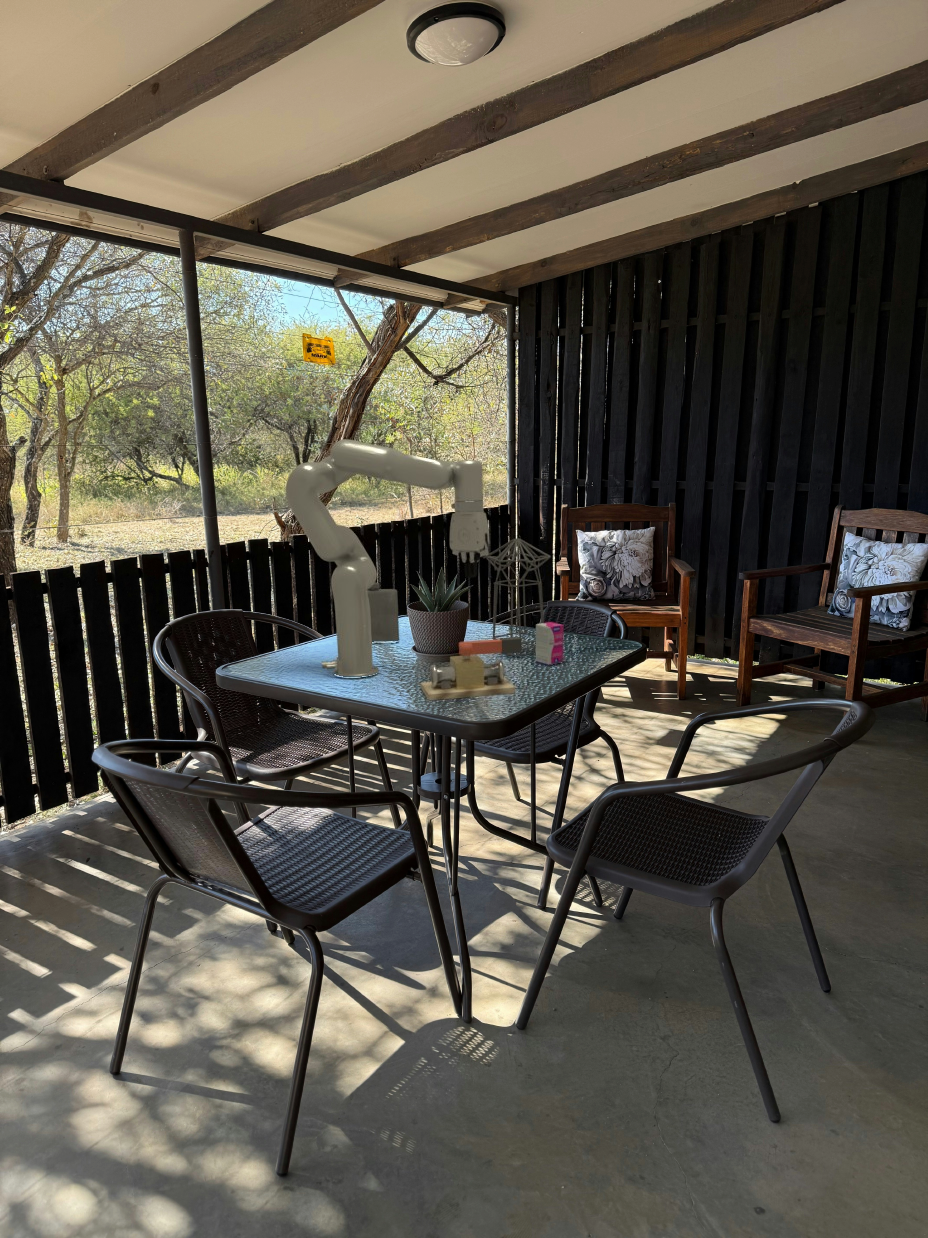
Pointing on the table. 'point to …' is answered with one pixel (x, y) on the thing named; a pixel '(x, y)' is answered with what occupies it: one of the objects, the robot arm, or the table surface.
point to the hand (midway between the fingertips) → (471, 576)
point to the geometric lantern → (491, 558)
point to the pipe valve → (467, 673)
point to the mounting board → (466, 690)
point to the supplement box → (549, 643)
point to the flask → (383, 613)
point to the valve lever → (491, 646)
